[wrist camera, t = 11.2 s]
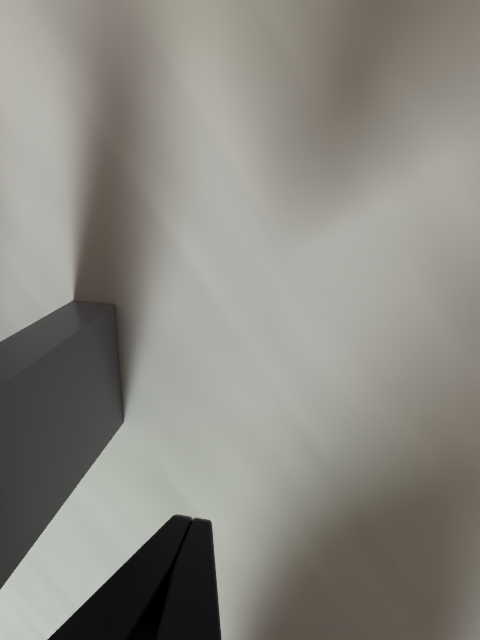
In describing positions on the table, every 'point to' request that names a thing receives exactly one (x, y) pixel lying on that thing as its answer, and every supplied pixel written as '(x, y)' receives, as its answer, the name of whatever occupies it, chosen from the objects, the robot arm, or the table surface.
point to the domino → (53, 417)
